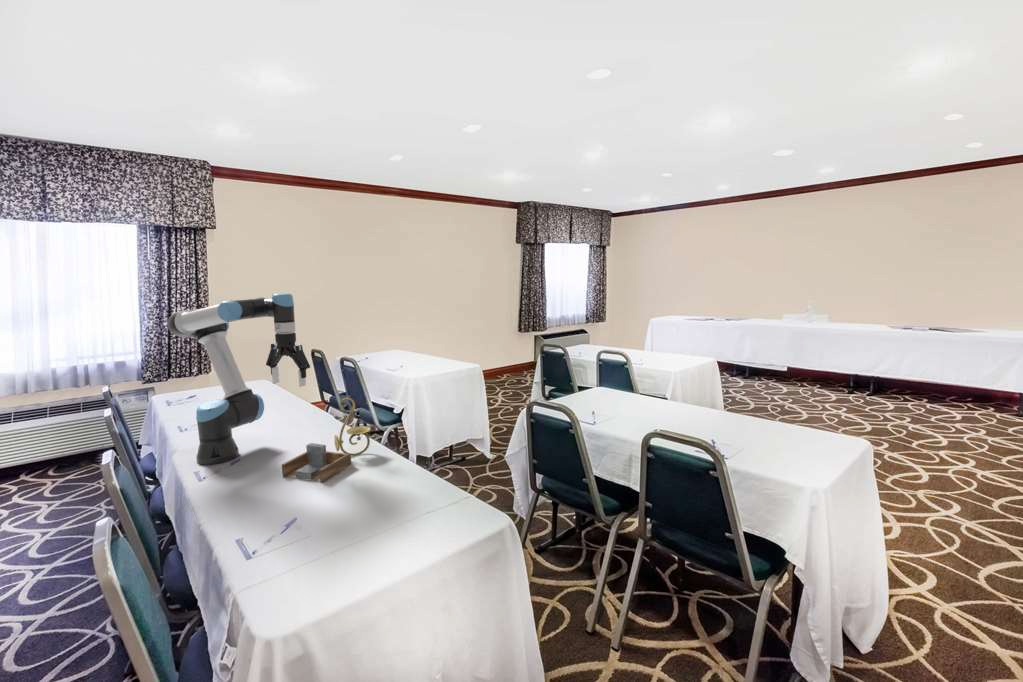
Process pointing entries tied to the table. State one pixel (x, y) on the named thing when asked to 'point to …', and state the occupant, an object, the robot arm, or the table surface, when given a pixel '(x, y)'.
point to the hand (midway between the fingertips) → (289, 384)
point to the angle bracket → (313, 461)
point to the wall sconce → (351, 432)
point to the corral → (334, 467)
